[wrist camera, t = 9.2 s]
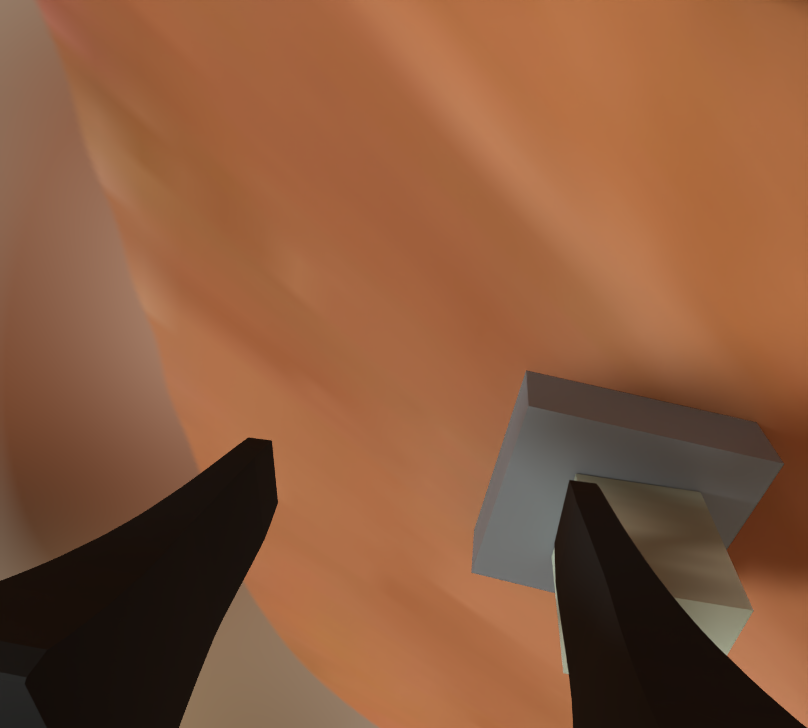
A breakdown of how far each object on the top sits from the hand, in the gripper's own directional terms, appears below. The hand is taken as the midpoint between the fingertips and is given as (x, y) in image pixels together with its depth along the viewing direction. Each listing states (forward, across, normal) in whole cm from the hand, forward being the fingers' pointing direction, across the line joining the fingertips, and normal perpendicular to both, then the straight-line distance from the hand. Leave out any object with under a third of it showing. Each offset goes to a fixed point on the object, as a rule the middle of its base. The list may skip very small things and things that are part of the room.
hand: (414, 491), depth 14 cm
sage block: (+7, -8, +7) cm, 12 cm away
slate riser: (+10, -7, +7) cm, 14 cm away
